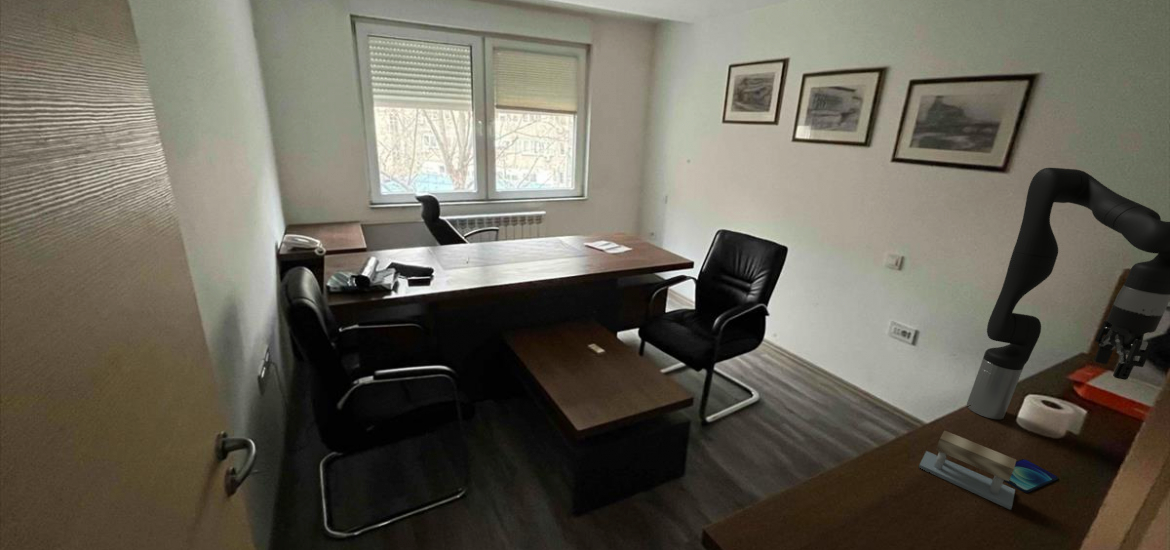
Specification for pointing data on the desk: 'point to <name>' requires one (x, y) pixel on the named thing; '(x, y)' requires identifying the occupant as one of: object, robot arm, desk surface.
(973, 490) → the peg rack
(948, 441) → the birch plank
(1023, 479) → the smartphone
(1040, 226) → the robot arm
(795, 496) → the desk surface
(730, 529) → the desk surface
